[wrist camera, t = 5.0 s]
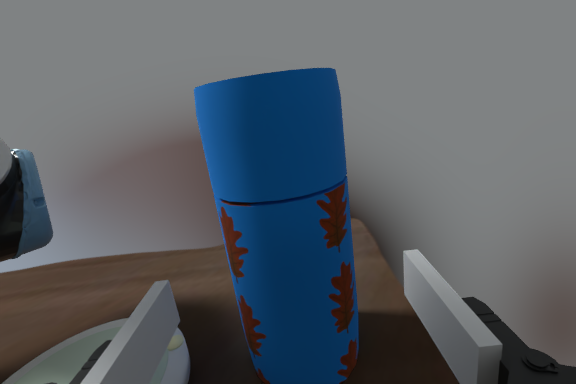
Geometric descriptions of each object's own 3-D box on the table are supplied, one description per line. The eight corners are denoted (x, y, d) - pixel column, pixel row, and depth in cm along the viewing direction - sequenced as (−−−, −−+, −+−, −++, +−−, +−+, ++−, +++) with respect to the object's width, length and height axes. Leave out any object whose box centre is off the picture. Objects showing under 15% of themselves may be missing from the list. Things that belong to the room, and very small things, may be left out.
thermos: (230, 350, 30) (168, 95, 23) (305, 298, 37) (275, 85, 29) (304, 428, 22) (244, 71, 15) (383, 343, 28) (368, 64, 21)
